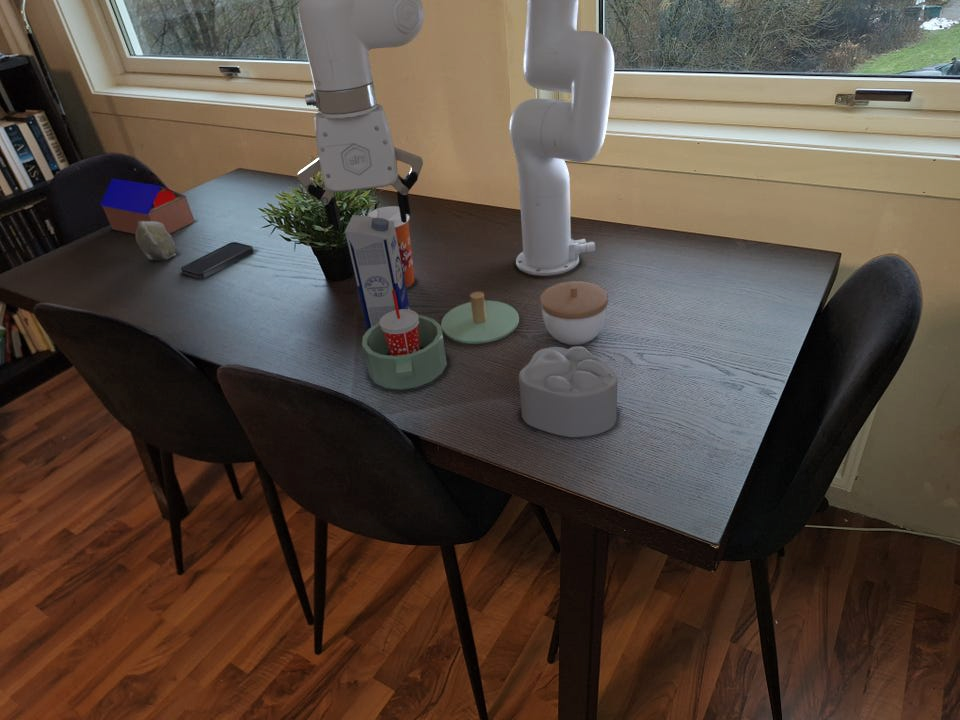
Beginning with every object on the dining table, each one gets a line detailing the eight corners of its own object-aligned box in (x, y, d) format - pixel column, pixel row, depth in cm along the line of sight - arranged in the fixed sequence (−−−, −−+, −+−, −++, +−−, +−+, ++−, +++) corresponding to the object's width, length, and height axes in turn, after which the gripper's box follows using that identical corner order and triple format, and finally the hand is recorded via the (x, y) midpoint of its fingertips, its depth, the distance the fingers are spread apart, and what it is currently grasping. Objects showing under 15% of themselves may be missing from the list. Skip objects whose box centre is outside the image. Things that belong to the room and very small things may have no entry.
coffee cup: (413, 294, 127) (400, 222, 119) (373, 293, 129) (358, 222, 121) (425, 274, 134) (413, 204, 125) (387, 273, 136) (373, 204, 127)
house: (158, 239, 164) (139, 194, 157) (110, 229, 173) (91, 186, 167) (196, 221, 172) (180, 177, 165) (149, 212, 181) (132, 170, 175)
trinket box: (591, 361, 103) (591, 310, 98) (531, 346, 109) (528, 296, 103) (617, 328, 111) (618, 278, 105) (560, 315, 116) (558, 267, 110)
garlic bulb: (167, 272, 153) (147, 242, 144) (136, 265, 154) (115, 234, 146) (189, 245, 158) (172, 213, 149) (160, 237, 159) (141, 206, 151)
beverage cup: (421, 352, 110) (408, 277, 102) (431, 371, 105) (417, 294, 97) (386, 361, 108) (369, 286, 101) (393, 381, 104) (377, 304, 96)
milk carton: (375, 314, 122) (352, 213, 111) (410, 312, 122) (392, 209, 110) (368, 335, 116) (344, 230, 105) (405, 332, 116) (385, 227, 105)
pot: (443, 333, 114) (438, 302, 111) (451, 395, 100) (445, 361, 96) (371, 343, 114) (364, 312, 110) (368, 407, 99) (360, 374, 96)
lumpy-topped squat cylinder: (544, 381, 100) (542, 333, 95) (627, 401, 94) (629, 351, 90) (514, 422, 93) (510, 373, 88) (601, 447, 87) (602, 395, 82)
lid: (512, 301, 121) (510, 271, 118) (525, 340, 110) (523, 309, 107) (439, 311, 121) (435, 282, 118) (444, 352, 110) (439, 320, 106)
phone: (254, 246, 151) (200, 274, 141) (255, 251, 152) (201, 279, 142) (232, 241, 155) (178, 268, 145) (234, 245, 156) (180, 272, 146)
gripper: (275, 114, 82) (308, 241, 92) (413, 98, 83) (431, 225, 92) (284, 100, 88) (314, 221, 98) (412, 85, 89) (429, 206, 98)
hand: (371, 223), depth 95 cm, fingers open, 9 cm apart
